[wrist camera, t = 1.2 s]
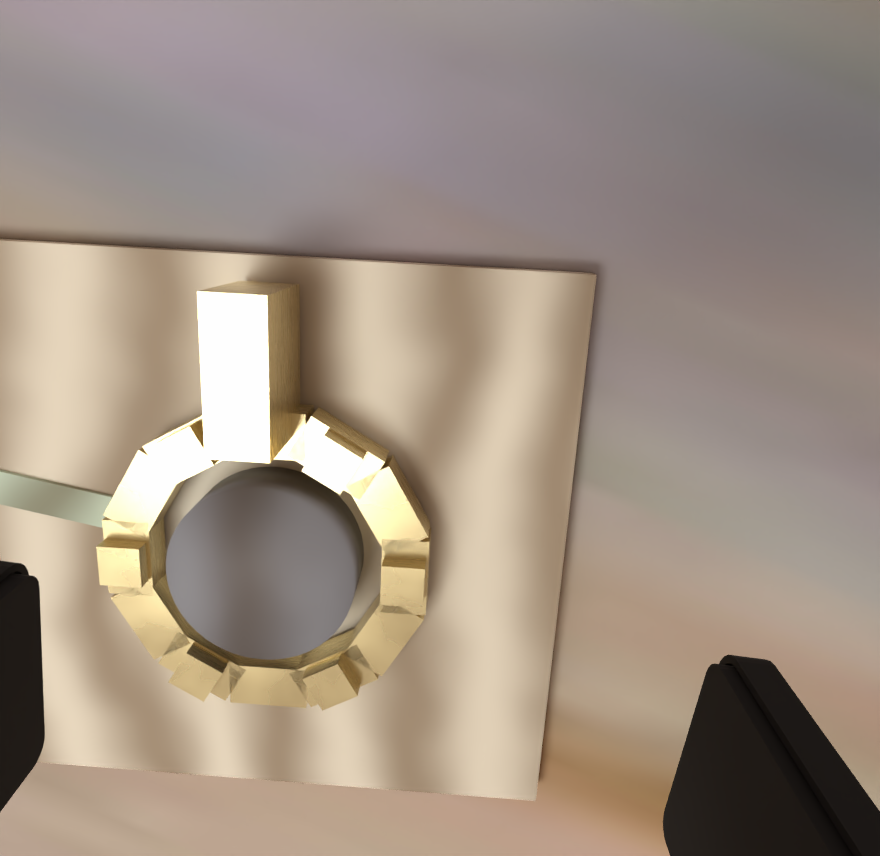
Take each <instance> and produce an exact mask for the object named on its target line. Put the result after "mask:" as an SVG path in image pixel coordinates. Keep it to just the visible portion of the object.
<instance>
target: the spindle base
mask: <svg viewBox="0 0 880 856" xmlns="http://www.w3.org/2000/svg"><path fill="white" fill-rule="evenodd" d="M236 281H257V282H274V283H291V284H300V404H306V405H314V412H315V411H316V410H317V409H318V407H320V408H322V409H324V410H325V411H327V412H328V413H330V414H331V415H333V416H335V417H336V418H338V419H339V420H341V421H343V422H344V423H346V424H347V425H349V426H351V427H352V428H354V429H355V430H357V431H359V432H360V433H362V434H363V435H365V436H367V437H368V438H370V439H371V440H373V441H375V442H376V443H378V444H379V445H381V446H383V447H384V448H386V449H387V450H389V453H388V455H387V457H389V456H391V455H394V457H395V459H396V461H397V463H398V465H399V466H400V468H401V470H402V472H403V474H404V476H405V477H406V479H407V481H408V483H409V485H410V486H411V488H412V490H413V492H414V494H415V496H416V497H417V499H418V501H419V503H420V505H421V506H422V508H423V510H424V512H425V514H426V516H427V517H428V519H429V521H430V527H431V544H430V562H429V580H428V598H427V607H426V615H424V620H423V622H422V623H421V624H420V626H419V627H418V628H417V630H416V631H415V633H414V634H413V635H412V637H411V638H410V639H409V641H408V642H407V643H406V645H405V646H404V647H403V649H402V650H401V651H400V653H399V654H398V655H397V657H396V658H395V659H394V661H393V662H392V663H391V665H390V666H389V667H388V669H387V670H386V672H385V673H384V674H383V676H380V675H379V676H378V680H375V681H373V682H371V683H368V684H366V685H363V686H361V687H360V688H359V692H358V696H357V697H354V698H352V699H350V700H347V701H345V702H342V703H340V704H337V705H335V706H333V707H330V708H328V709H325V710H323V711H322V709H321V708H320V706H319V705H315V706H313V707H311V706H310V705H309V703H307V706H306V708H299V707H285V706H272V705H258V704H245V703H232V702H230V695H229V696H228V698H227V699H226V701H225V700H223V699H221V698H219V697H217V696H216V695H214V694H212V693H209V695H208V696H207V698H206V699H205V701H204V702H203V701H201V700H199V699H198V698H196V697H194V696H192V695H190V694H189V693H187V692H185V691H183V690H181V689H180V688H178V687H176V686H174V685H172V684H171V683H169V680H170V678H171V677H172V675H173V674H174V672H173V671H171V670H169V669H167V668H165V667H164V666H162V665H160V664H158V662H159V661H160V659H161V658H162V656H161V657H159V658H157V659H155V660H154V659H153V658H152V656H151V655H150V653H149V652H148V651H147V649H146V648H145V646H144V645H143V643H142V642H141V641H140V639H139V638H138V636H137V635H136V633H135V632H134V631H133V629H132V628H131V626H130V625H129V623H128V622H127V621H126V619H125V618H124V616H123V615H122V614H121V612H120V611H119V609H118V608H117V606H116V605H115V604H114V602H113V601H112V599H111V597H112V596H113V595H114V594H115V593H109V591H108V586H107V585H100V581H99V570H98V560H97V550H96V546H97V545H99V544H100V543H101V542H102V541H103V540H104V537H103V527H102V519H104V518H105V517H106V516H104V515H103V514H104V512H105V510H106V508H107V507H108V505H109V503H110V501H111V499H112V497H113V496H114V494H115V492H116V490H117V488H118V486H119V485H120V483H121V481H122V479H123V477H124V476H125V474H126V472H127V470H128V468H129V466H130V465H131V463H132V461H133V459H134V457H135V455H136V454H137V452H138V450H139V449H141V448H142V446H144V445H145V444H147V443H148V442H149V441H151V440H152V439H154V438H155V437H157V436H158V435H160V434H162V433H164V432H166V431H168V430H170V429H172V428H174V427H176V426H178V425H180V424H182V423H184V422H186V421H188V420H190V419H192V418H194V417H196V416H197V415H199V414H201V413H202V393H201V371H200V349H199V327H198V305H197V291H200V290H204V289H208V288H212V287H216V286H220V285H224V284H228V283H232V282H236ZM595 284H596V274H593V273H585V272H568V271H550V270H533V269H516V268H498V267H481V266H464V265H446V264H429V263H412V262H394V261H377V260H360V259H342V258H325V257H308V256H290V255H273V254H256V253H238V252H221V251H204V250H186V249H169V248H152V247H134V246H117V245H100V244H82V243H65V242H48V241H30V240H13V239H0V557H1V561H7V562H15V563H22V564H23V565H25V566H26V568H27V570H28V573H29V575H31V576H34V577H36V578H37V580H38V581H39V587H40V614H41V641H42V669H43V696H44V723H45V740H44V745H43V749H42V751H41V754H40V757H39V759H38V761H37V762H40V763H53V764H66V765H79V766H92V767H105V768H118V769H130V770H143V771H156V772H169V773H182V774H195V775H208V776H221V777H234V778H247V779H260V780H272V781H285V782H298V783H311V784H324V785H337V786H350V787H363V788H376V789H389V790H401V791H414V792H427V793H440V794H453V795H466V796H479V797H492V798H505V799H518V800H530V801H536V794H537V785H538V777H539V768H540V760H541V751H542V742H543V734H544V725H545V716H546V708H547V699H548V690H549V682H550V673H551V664H552V656H553V647H554V639H555V630H556V621H557V613H558V604H559V595H560V587H561V578H562V569H563V561H564V552H565V543H566V535H567V526H568V517H569V509H570V500H571V492H572V483H573V474H574V466H575V457H576V448H577V440H578V431H579V422H580V414H581V405H582V396H583V388H584V379H585V370H586V362H587V353H588V345H589V336H590V327H591V319H592V310H593V301H594V293H595ZM303 468H304V466H303V465H302V464H300V463H299V462H297V461H293V460H278V459H273V461H272V462H271V463H258V462H242V461H227V460H223V461H221V462H219V463H217V464H215V465H213V466H211V467H209V468H207V469H205V470H203V471H201V472H199V473H197V474H195V475H193V476H191V477H189V478H187V479H186V480H185V482H184V484H183V485H182V487H181V489H180V490H179V492H178V494H177V496H176V497H175V499H174V501H173V503H172V504H171V506H170V508H169V509H168V511H167V513H166V515H165V516H164V529H165V545H166V575H167V582H168V586H169V589H170V593H171V595H172V597H173V600H174V602H175V604H176V606H177V608H178V609H179V611H180V613H181V614H182V615H183V617H184V618H185V619H186V621H187V622H188V623H189V624H190V625H191V626H192V627H193V628H194V629H195V630H196V631H197V632H198V633H199V634H200V635H202V636H203V637H204V638H205V639H207V640H208V641H210V642H211V643H213V644H214V645H216V646H218V647H220V648H222V649H224V650H226V651H229V652H231V653H234V654H237V655H240V656H244V657H248V658H255V659H266V660H275V659H285V658H290V657H294V656H298V655H301V654H303V653H306V652H309V651H310V650H312V649H314V648H316V647H318V646H320V645H321V644H322V643H324V642H325V641H327V640H330V639H332V638H334V637H337V636H339V635H341V634H344V633H346V632H348V631H351V630H353V629H354V628H355V627H356V625H357V624H358V623H359V621H360V620H361V618H362V617H363V616H364V614H365V613H366V611H367V610H368V609H369V607H370V606H371V604H372V603H373V602H374V600H375V599H376V597H377V596H378V595H379V593H380V589H381V559H382V547H381V546H380V544H379V542H378V540H377V539H376V537H375V535H374V533H373V532H372V530H371V528H370V526H369V525H368V523H367V521H366V519H365V518H364V516H363V514H362V512H361V511H360V509H359V507H358V506H357V504H356V502H355V500H354V499H353V497H352V495H351V494H349V493H348V492H346V491H344V490H343V491H342V492H341V494H338V493H336V492H335V491H333V490H332V489H330V488H328V487H327V486H325V485H323V484H322V483H320V482H318V481H317V480H315V479H314V478H312V477H310V476H309V475H307V474H305V473H304V472H302V469H303Z"/></svg>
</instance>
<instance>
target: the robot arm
mask: <svg viewBox="0 0 880 856" xmlns="http://www.w3.org/2000/svg"><path fill="white" fill-rule="evenodd" d="M44 740H45V723H44V696H43V669H42V641H41V614H40V587H39V581H38V580H37V578H36V577H34V576H31V575H29V573H28V570H27V568H26V566H25V565H23V564H22V563H15V562H7V561H0V812H1V810H2V809H3V808H4V806H5V805H6V804H7V802H8V801H9V799H10V798H11V797H12V795H13V794H14V793H15V791H16V790H17V789H18V787H19V786H20V785H21V783H22V782H23V781H24V779H25V778H26V777H27V775H28V774H29V773H30V771H31V770H32V769H33V767H34V766H35V764H36V763H37V761H38V759H39V757H40V754H41V751H42V749H43V745H44ZM663 830H664V837H665V841H666V844H667V847H668V850H669V853H670V856H880V811H879V810H878V808H877V807H876V806H875V804H874V803H873V801H872V800H871V799H870V797H869V796H868V794H867V793H866V792H865V790H864V789H863V788H862V786H861V785H860V783H859V782H858V781H857V779H856V778H855V776H854V775H853V774H852V772H851V771H850V769H849V768H848V767H847V765H846V764H845V762H844V761H843V760H842V758H841V757H840V756H839V754H838V753H837V751H836V750H835V749H834V747H833V746H832V744H831V743H830V742H829V740H828V739H827V737H826V736H825V735H824V733H823V732H822V730H821V729H820V728H819V726H818V725H817V724H816V722H815V721H814V719H813V718H812V717H811V715H810V714H809V712H808V711H807V710H806V708H805V707H804V705H803V704H802V703H801V701H800V700H799V698H798V697H797V696H796V694H795V693H794V692H793V690H792V689H791V687H790V686H789V685H788V683H787V682H786V680H785V679H784V678H783V676H782V675H781V673H780V672H779V671H778V669H777V668H776V666H775V665H774V664H773V663H772V662H771V661H768V660H765V659H757V658H749V657H741V656H734V655H727V656H724V657H723V659H722V660H721V661H720V663H719V664H712V665H710V667H709V668H708V670H707V672H706V675H705V679H704V682H703V685H702V688H701V692H700V695H699V698H698V702H697V705H696V708H695V712H694V715H693V718H692V721H691V725H690V728H689V731H688V735H687V738H686V741H685V745H684V748H683V751H682V755H681V758H680V761H679V764H678V768H677V771H676V774H675V778H674V781H673V784H672V788H671V791H670V794H669V797H668V801H667V804H666V807H665V811H664V817H663Z"/></svg>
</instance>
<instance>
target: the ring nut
mask: <svg viewBox="0 0 880 856" xmlns="http://www.w3.org/2000/svg"><path fill="white" fill-rule="evenodd" d="M197 305H198V327H199V349H200V371H201V393H202V413H201V414H199V415H197V416H196V417H194V418H192V419H190V420H188V421H186V422H184V423H182V424H180V425H178V426H176V427H174V428H172V429H170V430H168V431H166V432H164V433H162V434H160V435H158V436H157V437H155V438H154V439H152V440H151V441H149V442H148V443H147V444H145V445H144V446H142V448H141V449H139V450H138V452H137V454H136V455H135V457H134V459H133V461H132V463H131V465H130V466H129V468H128V470H127V472H126V474H125V476H124V477H123V479H122V481H121V483H120V485H119V486H118V488H117V490H116V492H115V494H114V496H113V497H112V499H111V501H110V503H109V505H108V507H107V508H106V510H105V512H104V514H103V515H104V516H106V517H105V518H104V519H102V527H103V537H104V540H103V541H102V542H101V543H100V544H99V545H97V546H96V550H97V560H98V570H99V581H100V585H107V586H108V591H109V593H115V594H114V595H113V596H112V597H111V599H112V601H113V602H114V604H115V605H116V606H117V608H118V609H119V611H120V612H121V614H122V615H123V616H124V618H125V619H126V621H127V622H128V623H129V625H130V626H131V628H132V629H133V631H134V632H135V633H136V635H137V636H138V638H139V639H140V641H141V642H142V643H143V645H144V646H145V648H146V649H147V651H148V652H149V653H150V655H151V656H152V658H153V659H154V660H155V659H157V658H159V657H161V656H162V658H161V659H160V661H159V662H158V664H160V665H162V666H164V667H165V668H167V669H169V670H171V671H173V672H174V674H173V675H172V677H171V678H170V680H169V683H171V684H172V685H174V686H176V687H178V688H180V689H181V690H183V691H185V692H187V693H189V694H190V695H192V696H194V697H196V698H198V699H199V700H201V701H203V702H204V701H205V699H206V698H207V696H208V695H209V693H212V694H214V695H216V696H217V697H219V698H221V699H223V700H225V701H226V699H227V698H228V696H229V695H230V702H232V703H245V704H258V705H272V706H285V707H299V708H306V706H307V703H309V705H310V706H311V707H313V706H315V705H319V706H320V708H321V709H322V711H323V710H325V709H328V708H330V707H333V706H335V705H337V704H340V703H342V702H345V701H347V700H350V699H352V698H354V697H357V696H358V692H359V688H360V687H361V686H363V685H366V684H368V683H371V682H373V681H375V680H378V676H379V675H380V676H383V674H384V673H385V672H386V670H387V669H388V667H389V666H390V665H391V663H392V662H393V661H394V659H395V658H396V657H397V655H398V654H399V653H400V651H401V650H402V649H403V647H404V646H405V645H406V643H407V642H408V641H409V639H410V638H411V637H412V635H413V634H414V633H415V631H416V630H417V628H418V627H419V626H420V624H421V623H422V622H423V620H424V615H426V607H427V598H428V580H429V562H430V544H431V527H430V521H429V519H428V517H427V516H426V514H425V512H424V510H423V508H422V506H421V505H420V503H419V501H418V499H417V497H416V496H415V494H414V492H413V490H412V488H411V486H410V485H409V483H408V481H407V479H406V477H405V476H404V474H403V472H402V470H401V468H400V466H399V465H398V463H397V461H396V459H395V457H394V455H391V456H389V457H387V455H388V453H389V450H387V449H386V448H384V447H383V446H381V445H379V444H378V443H376V442H375V441H373V440H371V439H370V438H368V437H367V436H365V435H363V434H362V433H360V432H359V431H357V430H355V429H354V428H352V427H351V426H349V425H347V424H346V423H344V422H343V421H341V420H339V419H338V418H336V417H335V416H333V415H331V414H330V413H328V412H327V411H325V410H324V409H322V408H320V407H318V409H317V410H316V411H315V412H314V405H306V404H300V284H291V283H274V282H257V281H236V282H232V283H228V284H224V285H220V286H216V287H212V288H208V289H204V290H200V291H197ZM273 459H278V460H293V461H297V462H299V463H300V464H302V465H303V466H304V468H303V469H302V472H304V473H305V474H307V475H309V476H310V477H312V478H314V479H315V480H317V481H318V482H320V483H322V484H323V485H325V486H327V487H328V488H330V489H332V490H333V491H335V492H336V493H338V494H341V492H342V491H343V490H344V491H346V492H348V493H349V494H351V495H352V497H353V499H354V500H355V502H356V504H357V506H358V507H359V509H360V511H361V512H362V514H363V516H364V518H365V519H366V521H367V523H368V525H369V526H370V528H371V530H372V532H373V533H374V535H375V537H376V539H377V540H378V542H379V544H380V546H381V547H382V559H381V589H380V593H379V595H378V596H377V597H376V599H375V600H374V602H373V603H372V604H371V606H370V607H369V609H368V610H367V611H366V613H365V614H364V616H363V617H362V618H361V620H360V621H359V623H358V624H357V625H356V627H355V628H354V629H353V630H351V631H348V632H346V633H344V634H341V635H339V636H337V637H334V638H332V639H330V640H327V641H325V642H324V643H322V644H321V645H320V646H318V647H316V648H314V649H312V650H310V651H309V652H306V653H303V654H301V655H298V656H294V657H290V658H285V659H275V660H266V659H255V658H248V657H244V656H240V655H237V654H234V653H231V652H229V651H226V650H224V649H222V648H220V647H218V646H216V645H214V644H213V643H211V642H210V641H208V640H207V639H205V638H204V637H203V636H202V635H200V634H199V633H198V632H197V631H196V630H195V629H194V628H193V627H192V626H191V625H190V624H189V623H188V622H187V621H186V619H185V618H184V617H183V615H182V614H181V613H180V611H179V609H178V608H177V606H176V604H175V602H174V600H173V597H172V595H171V593H170V589H169V586H168V582H167V575H166V545H165V529H164V516H165V515H166V513H167V511H168V509H169V508H170V506H171V504H172V503H173V501H174V499H175V497H176V496H177V494H178V492H179V490H180V489H181V487H182V485H183V484H184V482H185V480H186V479H187V478H189V477H191V476H193V475H195V474H197V473H199V472H201V471H203V470H205V469H207V468H209V467H211V466H213V465H215V464H217V463H219V462H221V461H223V460H227V461H242V462H258V463H271V462H272V461H273Z"/></svg>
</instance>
